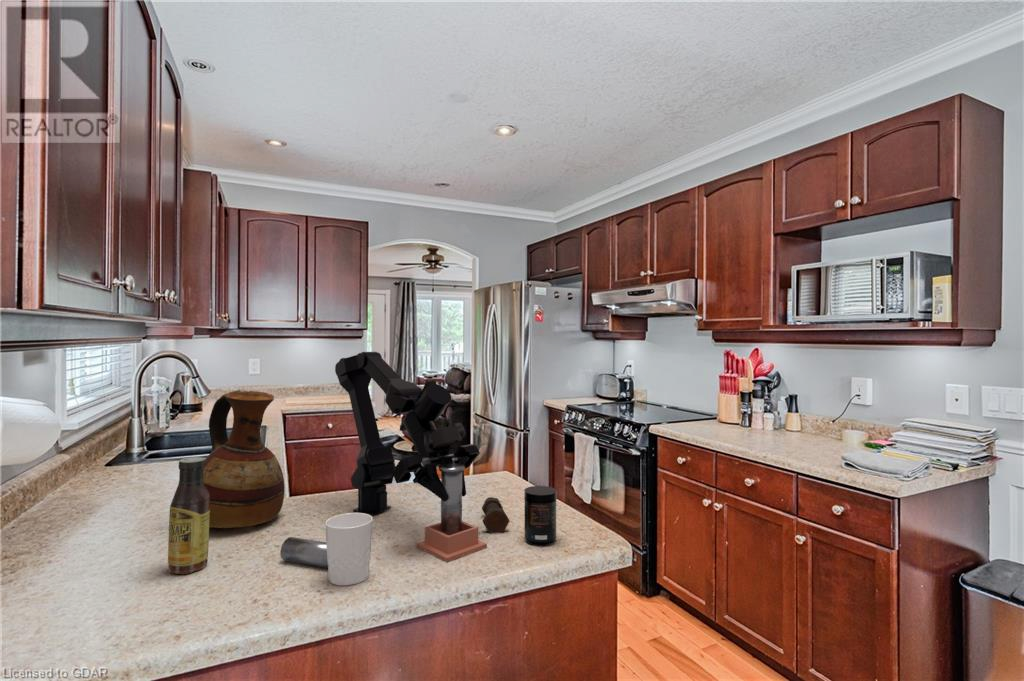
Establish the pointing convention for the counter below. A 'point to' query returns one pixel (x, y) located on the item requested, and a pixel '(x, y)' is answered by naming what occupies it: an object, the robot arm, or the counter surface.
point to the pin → (304, 551)
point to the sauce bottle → (189, 519)
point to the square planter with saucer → (451, 542)
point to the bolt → (494, 516)
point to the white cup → (348, 547)
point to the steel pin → (452, 497)
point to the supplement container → (540, 515)
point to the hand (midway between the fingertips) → (455, 497)
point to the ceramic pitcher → (241, 464)
